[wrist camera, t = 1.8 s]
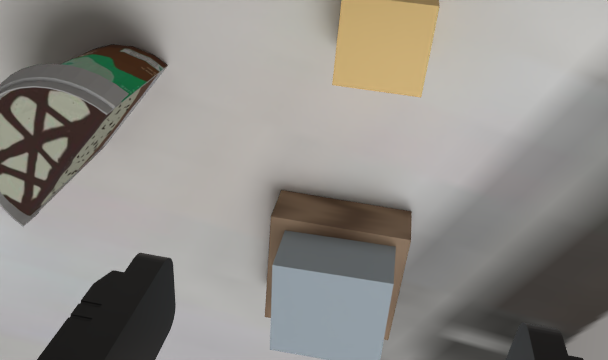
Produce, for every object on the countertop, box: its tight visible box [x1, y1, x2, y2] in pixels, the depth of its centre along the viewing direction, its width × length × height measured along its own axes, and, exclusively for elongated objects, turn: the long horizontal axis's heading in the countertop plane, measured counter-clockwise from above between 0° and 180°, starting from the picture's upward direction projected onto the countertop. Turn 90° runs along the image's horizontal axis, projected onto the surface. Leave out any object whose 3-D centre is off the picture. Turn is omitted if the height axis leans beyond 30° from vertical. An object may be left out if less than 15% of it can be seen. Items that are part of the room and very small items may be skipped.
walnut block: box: [265, 190, 411, 340], centre depth 44 cm, size 10×10×4 cm
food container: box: [0, 44, 168, 226], centre depth 37 cm, size 12×6×10 cm, turn 139°
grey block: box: [270, 231, 396, 360], centre depth 40 cm, size 8×8×4 cm
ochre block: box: [332, 0, 439, 97], centre depth 32 cm, size 5×5×6 cm
